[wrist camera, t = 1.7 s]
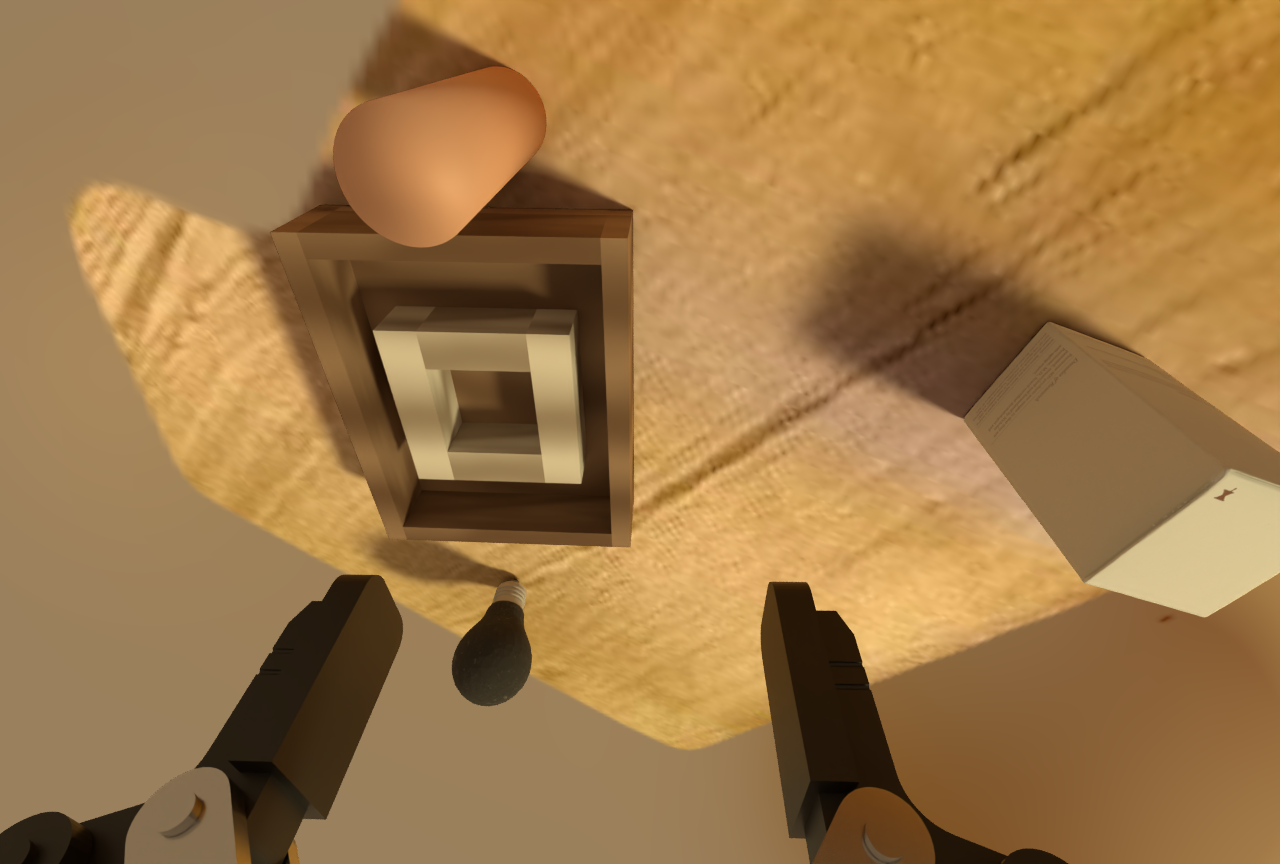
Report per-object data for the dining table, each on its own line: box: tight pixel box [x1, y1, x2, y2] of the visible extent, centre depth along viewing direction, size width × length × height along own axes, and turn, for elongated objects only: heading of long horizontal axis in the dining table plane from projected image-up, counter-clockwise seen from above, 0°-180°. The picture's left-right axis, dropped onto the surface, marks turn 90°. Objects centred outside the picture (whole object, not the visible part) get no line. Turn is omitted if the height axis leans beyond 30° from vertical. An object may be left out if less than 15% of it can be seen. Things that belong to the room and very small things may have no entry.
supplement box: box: [964, 322, 1280, 617], centre depth 28 cm, size 7×7×13 cm
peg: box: [333, 66, 546, 248], centre depth 21 cm, size 4×4×12 cm
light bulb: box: [452, 580, 532, 706], centre depth 42 cm, size 6×6×10 cm
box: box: [270, 205, 634, 547], centre depth 32 cm, size 20×16×4 cm
